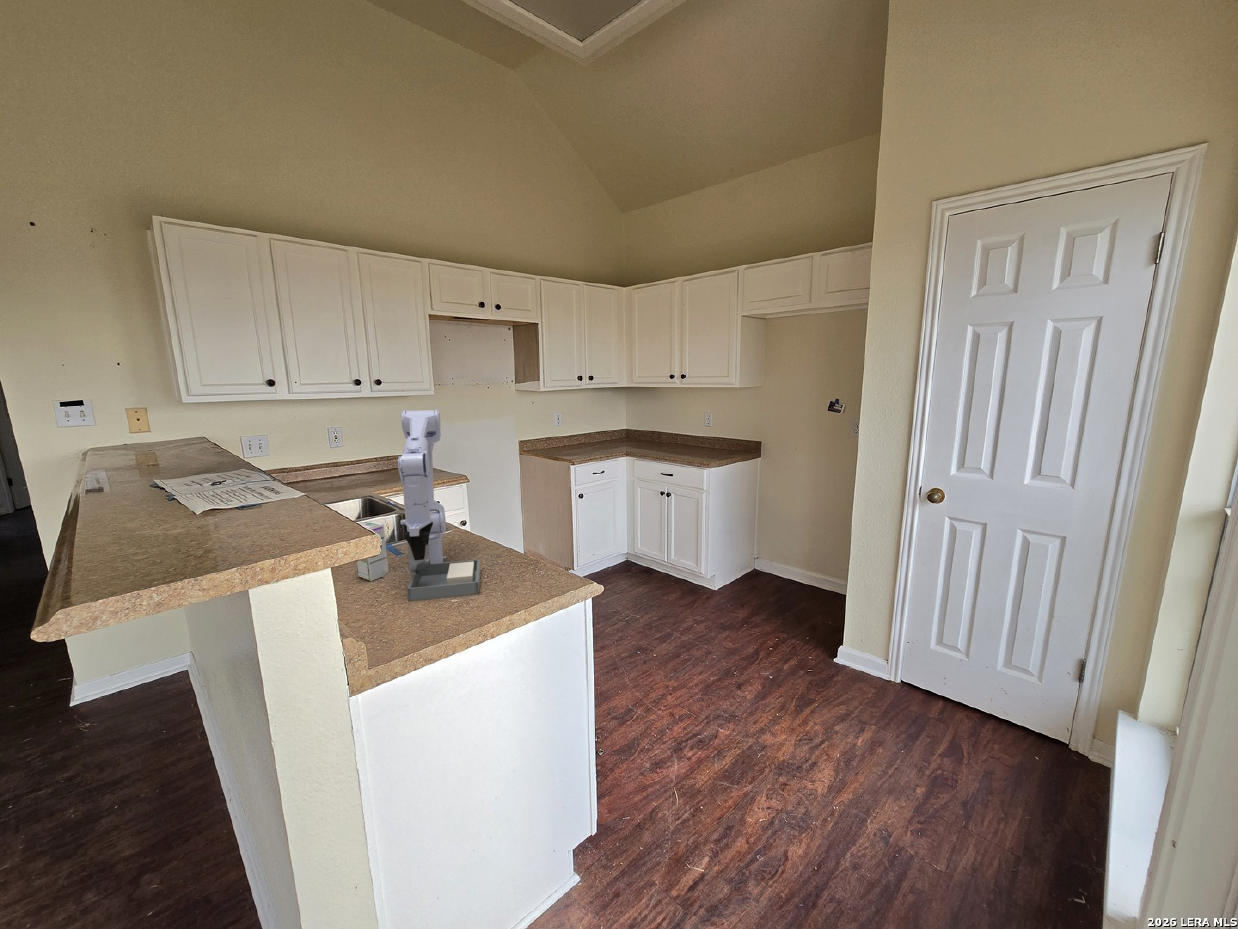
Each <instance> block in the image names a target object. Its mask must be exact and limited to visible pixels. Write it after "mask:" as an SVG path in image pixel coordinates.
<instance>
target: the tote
mask: <svg viewBox="0 0 1238 929" xmlns="http://www.w3.org/2000/svg"><path fill="white" fill-rule="evenodd" d="M463 562H474V573H475V576H474V582H466V583H456V584H447V575H448V570H449V566H450V564H451V563H463ZM430 567H431V569H430V570H429V571H427V572H424V573H412V576H411V578H410V580H409V583H408V587H407V589H406V590H407V591H406V592H407V601H408V602H415V601H427V600H435V599H444V598H445V599H446V598H455V597H465V596H466V597H467V596H474V595H475V596H476V595H480V580H481V559H480V558H478V559H467V560H456V561H454V560H453V561H445V562H444V561H443V563H431V564H430Z"/></svg>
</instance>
